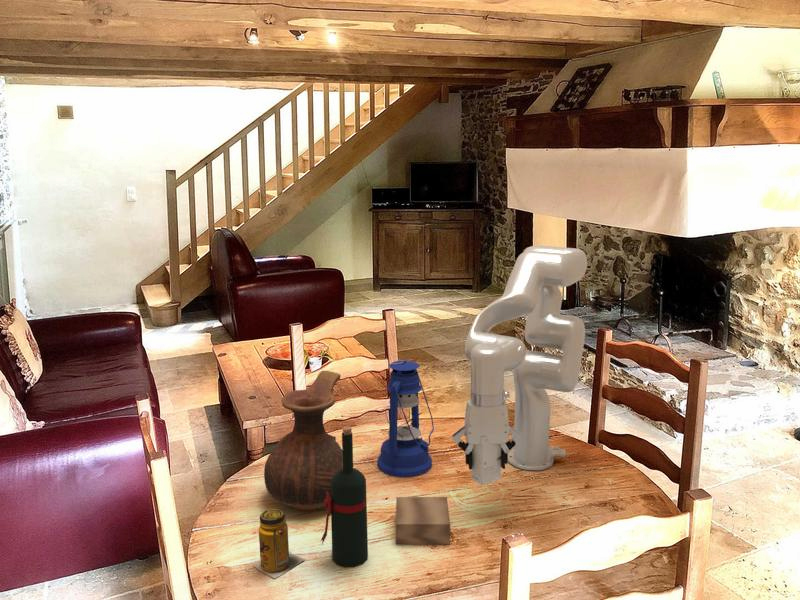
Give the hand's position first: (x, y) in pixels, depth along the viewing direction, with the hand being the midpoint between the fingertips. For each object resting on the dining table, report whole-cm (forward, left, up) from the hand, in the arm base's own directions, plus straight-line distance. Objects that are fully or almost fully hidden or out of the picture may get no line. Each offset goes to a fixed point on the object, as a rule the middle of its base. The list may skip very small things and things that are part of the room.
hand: (486, 465), depth 170 cm
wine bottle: (+32, +19, -12) cm, 39 cm away
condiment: (+46, +21, -12) cm, 52 cm away
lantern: (+19, -25, -12) cm, 34 cm away
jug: (+43, -7, -12) cm, 46 cm away
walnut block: (+15, +8, -12) cm, 21 cm away
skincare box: (0, 0, -3) cm, 3 cm away
